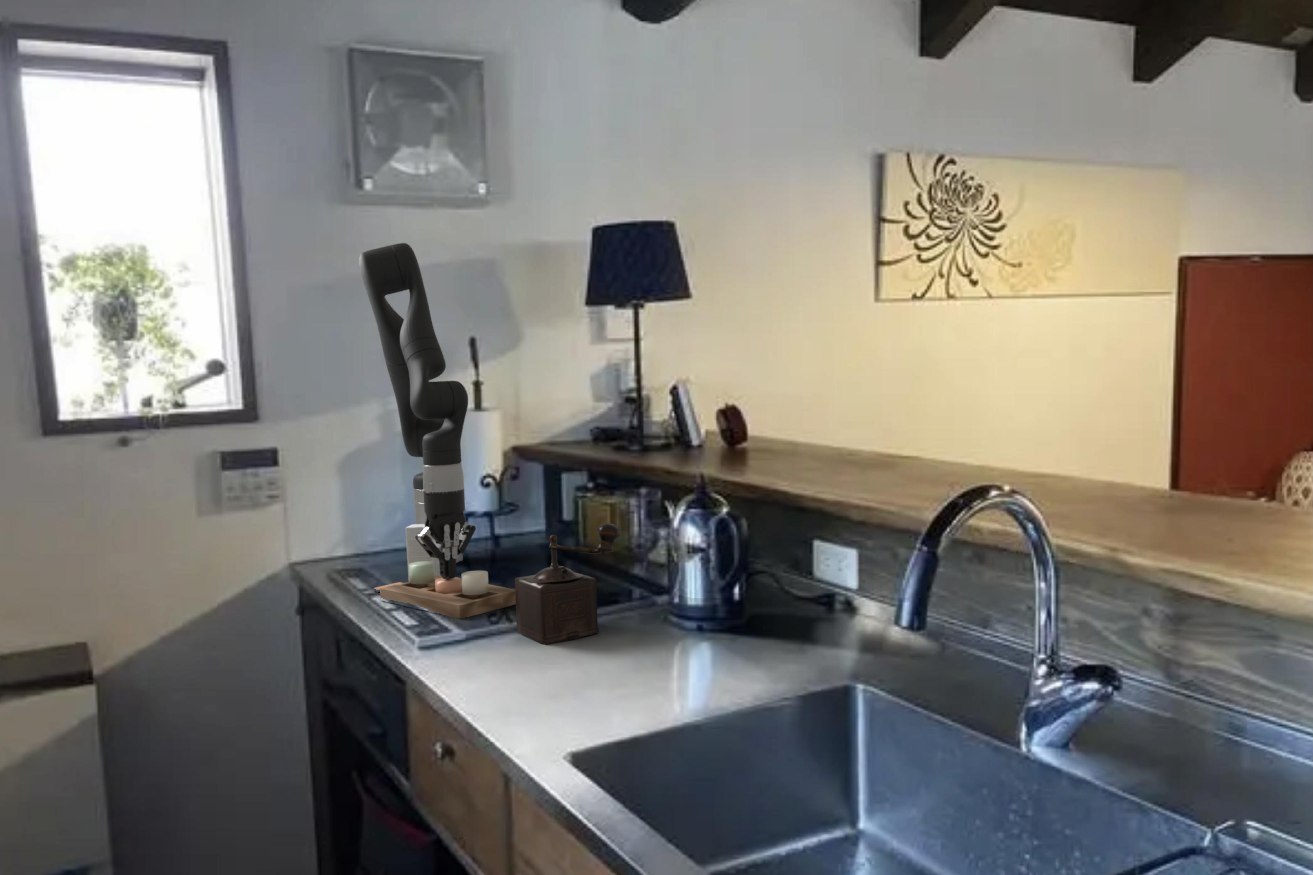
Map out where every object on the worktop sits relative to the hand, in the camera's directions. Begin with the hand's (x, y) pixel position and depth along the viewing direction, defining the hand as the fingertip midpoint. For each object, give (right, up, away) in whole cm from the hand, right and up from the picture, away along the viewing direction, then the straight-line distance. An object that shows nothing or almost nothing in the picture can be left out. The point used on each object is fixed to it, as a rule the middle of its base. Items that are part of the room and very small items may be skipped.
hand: (448, 578), depth 200 cm
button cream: (+6, -2, -5) cm, 8 cm away
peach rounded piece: (0, -4, 0) cm, 4 cm away
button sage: (-6, -1, +5) cm, 8 cm away
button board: (0, -5, 0) cm, 5 cm away
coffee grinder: (+25, -6, -23) cm, 34 cm away
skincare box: (-8, -4, +18) cm, 20 cm away
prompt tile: (-13, -4, +11) cm, 18 cm away
